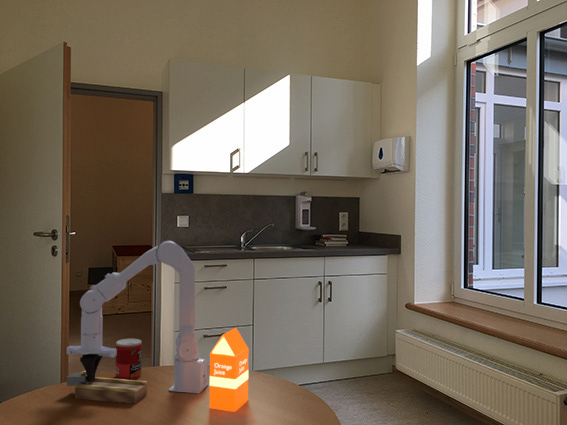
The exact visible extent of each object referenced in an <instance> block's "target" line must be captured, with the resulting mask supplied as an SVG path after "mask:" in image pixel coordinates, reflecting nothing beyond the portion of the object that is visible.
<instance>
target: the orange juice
mask: <svg viewBox="0 0 567 425" xmlns="http://www.w3.org/2000/svg"><path fill="white" fill-rule="evenodd" d="M249 350H250V349H249V347H248V345H247V344H246V341H245V340H244V338H243V337H242V336H241V333H240V332H239V330H238V329H237V327H235V328H232V329H231V330H229V331H227V332H225V333H223V334H222V335H221V336H220V338H219V339H218V341H217V342H216V344H215V346H214V347H213V349H212V350H211V351H210V353H209V409H214V410H219V411H220V410H221V411H226V412H234V413H235V412H236V411H238V410H239V409H240V408H242V406H244V405H245V404H246V403H247V401H249Z"/></svg>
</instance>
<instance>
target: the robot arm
mask: <svg viewBox="0 0 567 425" xmlns="http://www.w3.org/2000/svg"><path fill="white" fill-rule="evenodd" d="M160 262H161V263H163V264H164V265H166V266H170V267H172V268H173V270H175V271H176V272H177V273H178V277H179V278H178V280H179V282H178V283H179V285H178V286H179V287H178V290H179V294H178V295H179V296H178V297H179V302H178V303H179V305H178V308H179V310H178V311H179V314H178V315H179V317H178V318H179V320H178V323H179V324H178V326H179V327H178V330H179V331H178V335H177V338H176V340H175V347H176V350H175V352H176V355H174V359H173V360H174V363H173V364H174V365H173V369H174V371H173V377H174V378H173V380H174V381H173V385H172V386H171V387H169V389H168V391H169V392H178V393H188V394H189V393H190V394H201V392H202V391H203V390H204V389H205V388H206V387H207V386H208V385H209V383H208V378H209V377H208V370H209V367H208V360H207V359H205V358H202V357H200V354H199V345H198V340H197V337H196V329H195V328H196V327H195V326H196V324H195V321H196V320H195V318H196V315H195V310H196V308H195V307H196V303H195V301H196V299H195V298H196V297H195V296H196V295H195V291H196V290H195V286H196V285H195V284H196V282H195V279H196V278H195V274H196V273H195V272H196V271H195V265H194V263H193V261H192V260H191V259H190V257H189V256H188V255H187V253H186V252H185V250H184V249H183V248H182V246H180V245H179V244H178V243H176V242H174V241H173V240H165V241H162V242H161V243H160V244H159V246H158V245H156V246H155V247H153V248H151V249H149V250H147V251H146V252H144V253H143V254H142V255H141V256H140V257H138V258H137V259H136V260H134V261H133V262H132V263H131V264H130V265H128V266H127V267H126V268H125V269H123V270H122V271H121V272H116V271H115V272H114V271H113V272H112V273H109V272H108V273H107V274H106V275H104V279H103V280H100V282H98V283H97V284H94V285H92V286H91V287H90V289H89V290H87V291H86V292H85V293H84V294H83V295H82V296H81V298H80V301H79V306H80V308H81V318H80V345H70V346H67V347H66V355H82V356H81V357H80V358H79V361H80V363H81V365H82V366H83V368H84V371H86V373H87V379H88V382H91V381H93V380H94V379H95V377H96V373H97V370H98V366H99V364H100V362H101V360H102V358H103V357H109V358H113V359H114V358H116V356H117V349H116V348H111V347H108V346H103V324H104V323H103V320H104V319H103V318H104V316H103V307H102V306H103V305H104V303H106V302H107V303H108V302H109V301H110V300H112V299H113V298H114V297H116V296H117V295H118V294H119V293H121V292H122V291H123V290H125V289H126V288H127V282H128V281H129V280H130V279H132V278H133V277H135V276H136V275H137V274H139V273H140V272H142V271H144V270H145V269H146V268H147V267H149V266H153V265H160V264H159V263H160Z"/></svg>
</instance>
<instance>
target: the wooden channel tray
mask: <svg viewBox="0 0 567 425" xmlns="http://www.w3.org/2000/svg"><path fill="white" fill-rule="evenodd" d="M74 388H75V389H74V392H75V393H74V396H75V398H74V399H79V400H89V401H90V400H91V401H98V402H110V401H111V402H110V403H121V402H125V403H124V404H132V403H133V405H135V404H136V403H137V401H138V402H139V401H140V400H142V399H143V398H144V397H145V396H147V395H148V390H147V389H148V381H147V380H135V379H130V380H126V379H118V378H111V377H99V376H95V381H93V382H91V383H90V384H88V385H85V384H76V385H75V386H74ZM146 394H147V395H146ZM141 398H142V399H141Z"/></svg>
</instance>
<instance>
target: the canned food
mask: <svg viewBox="0 0 567 425" xmlns="http://www.w3.org/2000/svg"><path fill="white" fill-rule="evenodd" d="M142 343H143V342H142V340H141V339H138V338H123V339H118V340H117V341H116V342H115V349H117V356H115V376H116V379H126V380H129V379H130V380H135V379H138V378H139V377H141V375H142V350H143V349H142V348H143V347H142V346H143V345H142Z"/></svg>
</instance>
